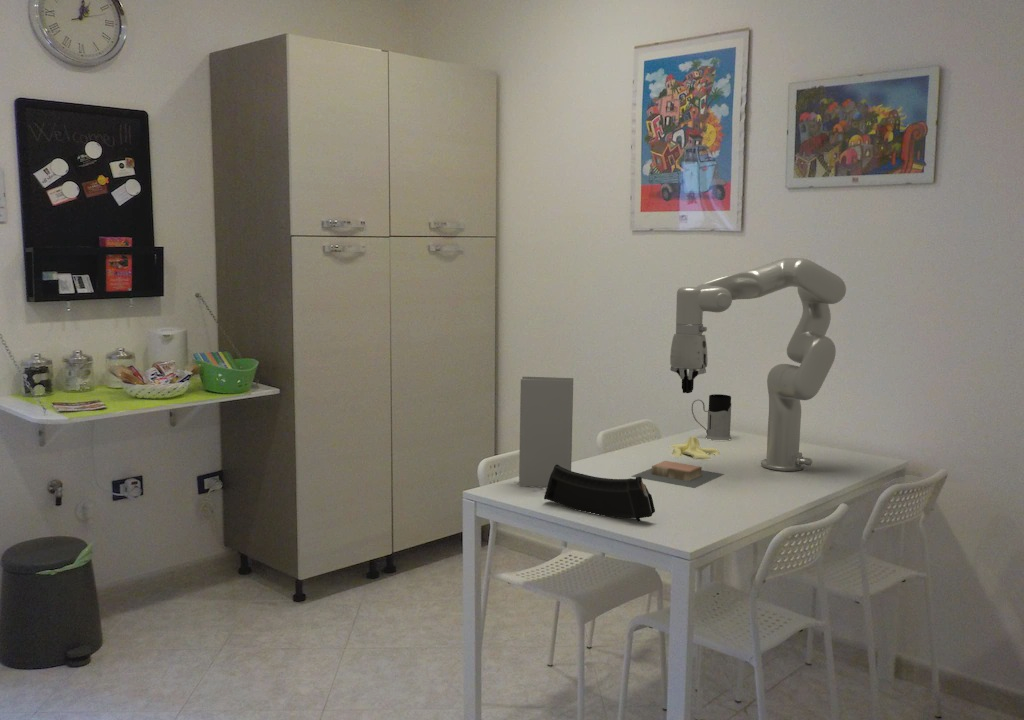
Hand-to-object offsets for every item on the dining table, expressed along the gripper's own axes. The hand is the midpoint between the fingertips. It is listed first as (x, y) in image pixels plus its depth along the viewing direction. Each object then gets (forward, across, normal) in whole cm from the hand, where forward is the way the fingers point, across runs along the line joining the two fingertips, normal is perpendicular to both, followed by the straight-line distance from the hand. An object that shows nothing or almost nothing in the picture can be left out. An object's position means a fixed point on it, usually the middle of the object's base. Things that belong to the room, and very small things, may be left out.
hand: (687, 392), depth 273 cm
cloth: (+25, +10, -26) cm, 38 cm away
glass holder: (+25, +14, -52) cm, 59 cm away
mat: (+24, 0, +5) cm, 25 cm away
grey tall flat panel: (+24, +26, +36) cm, 50 cm away
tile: (+22, +7, +4) cm, 24 cm away
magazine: (+24, +1, +50) cm, 56 cm away
